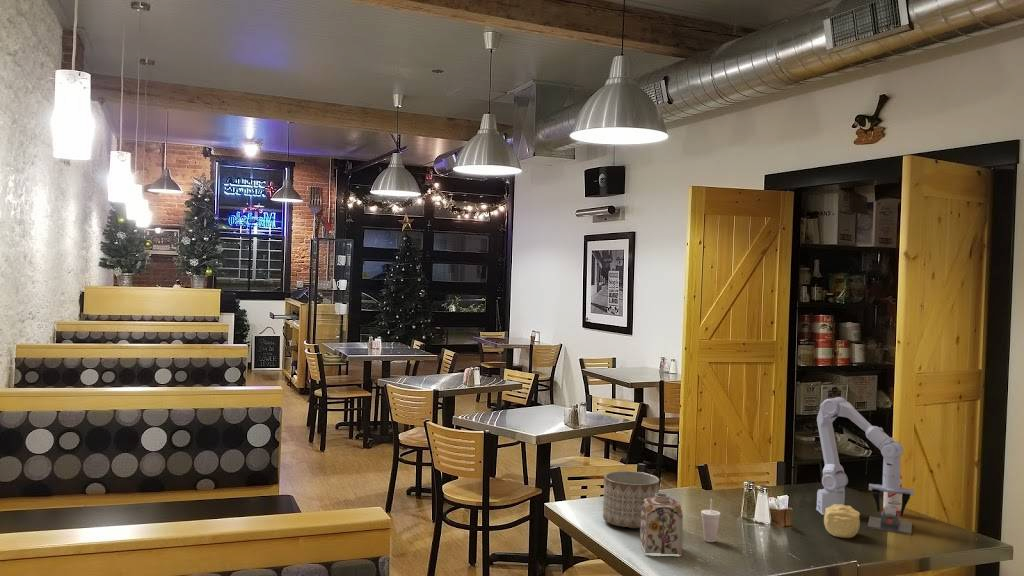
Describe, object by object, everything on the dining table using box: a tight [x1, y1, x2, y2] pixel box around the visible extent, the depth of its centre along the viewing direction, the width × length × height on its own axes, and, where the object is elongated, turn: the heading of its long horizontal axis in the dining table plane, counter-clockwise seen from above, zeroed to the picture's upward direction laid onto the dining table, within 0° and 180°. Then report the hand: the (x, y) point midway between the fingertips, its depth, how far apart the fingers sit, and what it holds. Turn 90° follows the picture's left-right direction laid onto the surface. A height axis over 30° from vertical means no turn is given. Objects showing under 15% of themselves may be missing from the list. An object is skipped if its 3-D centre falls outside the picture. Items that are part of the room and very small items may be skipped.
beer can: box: [882, 472, 903, 515], centre depth 295 cm, size 6×6×16 cm
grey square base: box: [867, 510, 913, 536], centre depth 279 cm, size 14×14×4 cm
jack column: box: [884, 505, 896, 517], centre depth 279 cm, size 4×4×7 cm
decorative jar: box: [639, 492, 684, 555], centre depth 245 cm, size 12×12×18 cm
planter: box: [602, 470, 660, 529], centre depth 272 cm, size 19×19×16 cm
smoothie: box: [700, 498, 721, 541], centre depth 256 cm, size 6×6×14 cm
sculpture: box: [823, 504, 861, 539], centre depth 267 cm, size 11×12×11 cm
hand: (890, 512), depth 279 cm, fingers open, 7 cm apart
